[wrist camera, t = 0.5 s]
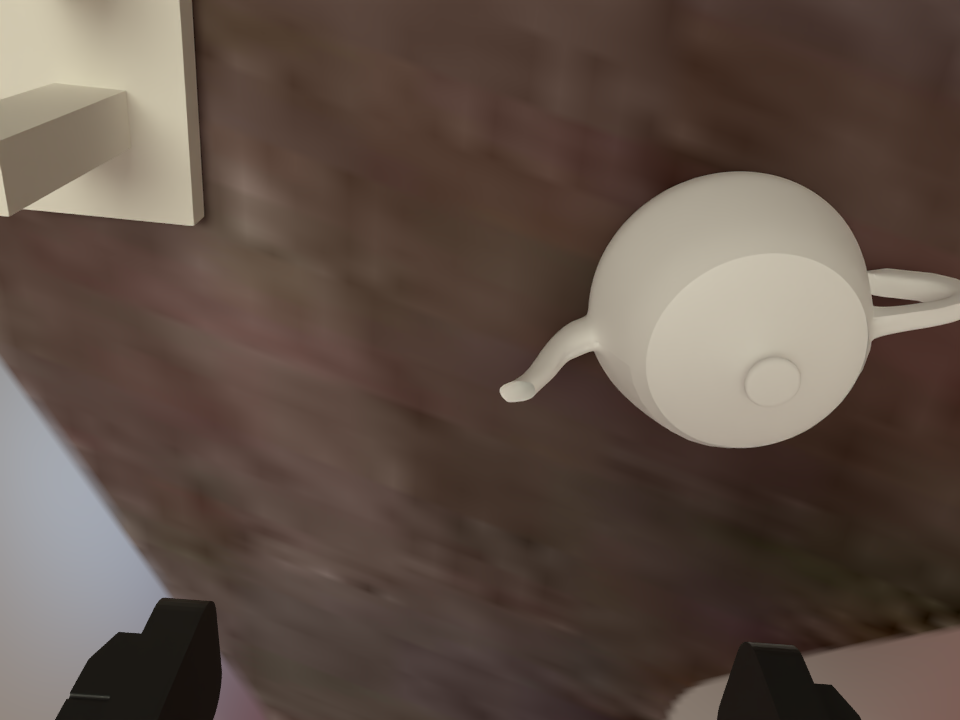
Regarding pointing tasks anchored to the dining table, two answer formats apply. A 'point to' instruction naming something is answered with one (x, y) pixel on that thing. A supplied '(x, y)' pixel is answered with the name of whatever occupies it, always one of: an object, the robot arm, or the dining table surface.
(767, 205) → the teapot
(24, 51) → the display stand
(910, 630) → the dining table surface
